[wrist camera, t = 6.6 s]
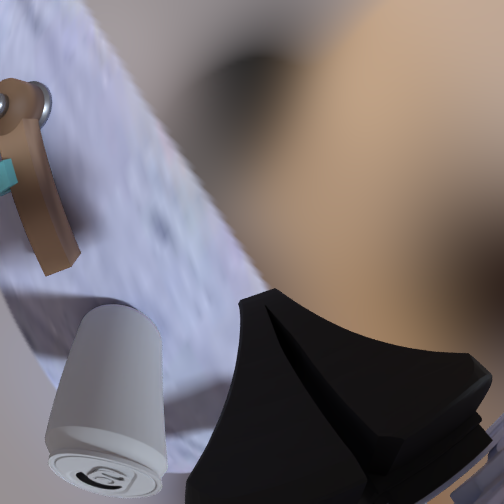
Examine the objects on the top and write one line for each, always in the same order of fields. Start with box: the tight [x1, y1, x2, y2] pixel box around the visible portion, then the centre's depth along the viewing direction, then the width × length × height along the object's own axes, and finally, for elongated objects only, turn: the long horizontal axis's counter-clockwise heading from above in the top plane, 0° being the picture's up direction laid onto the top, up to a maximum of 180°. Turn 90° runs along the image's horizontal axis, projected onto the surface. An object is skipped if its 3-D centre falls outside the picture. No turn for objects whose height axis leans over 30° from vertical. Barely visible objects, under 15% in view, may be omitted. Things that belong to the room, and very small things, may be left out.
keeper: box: [0, 158, 18, 196], centre depth 11 cm, size 1×3×4 cm, turn 104°
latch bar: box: [0, 78, 81, 276], centre depth 12 cm, size 12×3×3 cm, turn 13°
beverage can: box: [45, 304, 168, 498], centre depth 14 cm, size 6×6×12 cm
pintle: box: [0, 81, 52, 129], centre depth 10 cm, size 4×4×4 cm
